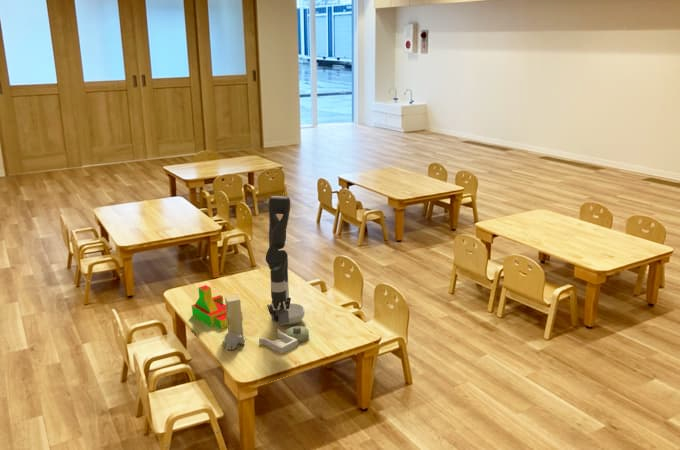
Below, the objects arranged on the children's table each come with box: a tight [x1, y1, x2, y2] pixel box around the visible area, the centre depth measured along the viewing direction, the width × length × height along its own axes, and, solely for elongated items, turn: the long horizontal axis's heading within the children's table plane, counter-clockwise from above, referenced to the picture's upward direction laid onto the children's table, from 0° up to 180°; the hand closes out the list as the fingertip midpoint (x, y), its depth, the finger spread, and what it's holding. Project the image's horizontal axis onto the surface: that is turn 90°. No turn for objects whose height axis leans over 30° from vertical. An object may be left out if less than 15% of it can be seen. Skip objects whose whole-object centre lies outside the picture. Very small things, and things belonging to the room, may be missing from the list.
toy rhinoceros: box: [221, 332, 247, 351], centre depth 307 cm, size 7×12×8 cm, turn 127°
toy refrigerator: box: [224, 294, 244, 336], centre depth 317 cm, size 8×7×21 cm
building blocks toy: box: [191, 285, 243, 329], centre depth 337 cm, size 19×25×18 cm
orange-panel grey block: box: [270, 307, 289, 326], centre depth 304 cm, size 8×4×7 cm, turn 47°
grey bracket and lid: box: [258, 325, 310, 354], centre depth 313 cm, size 16×24×5 cm
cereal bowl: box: [285, 302, 305, 326], centre depth 332 cm, size 17×17×7 cm
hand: (280, 319), depth 304 cm, fingers closed on orange-panel grey block, 4 cm apart
